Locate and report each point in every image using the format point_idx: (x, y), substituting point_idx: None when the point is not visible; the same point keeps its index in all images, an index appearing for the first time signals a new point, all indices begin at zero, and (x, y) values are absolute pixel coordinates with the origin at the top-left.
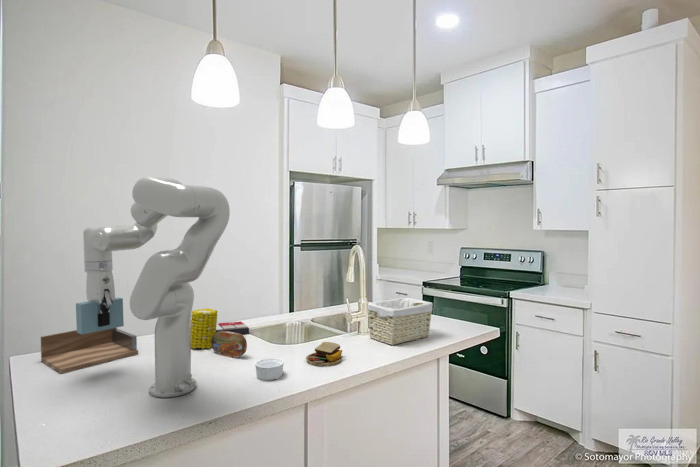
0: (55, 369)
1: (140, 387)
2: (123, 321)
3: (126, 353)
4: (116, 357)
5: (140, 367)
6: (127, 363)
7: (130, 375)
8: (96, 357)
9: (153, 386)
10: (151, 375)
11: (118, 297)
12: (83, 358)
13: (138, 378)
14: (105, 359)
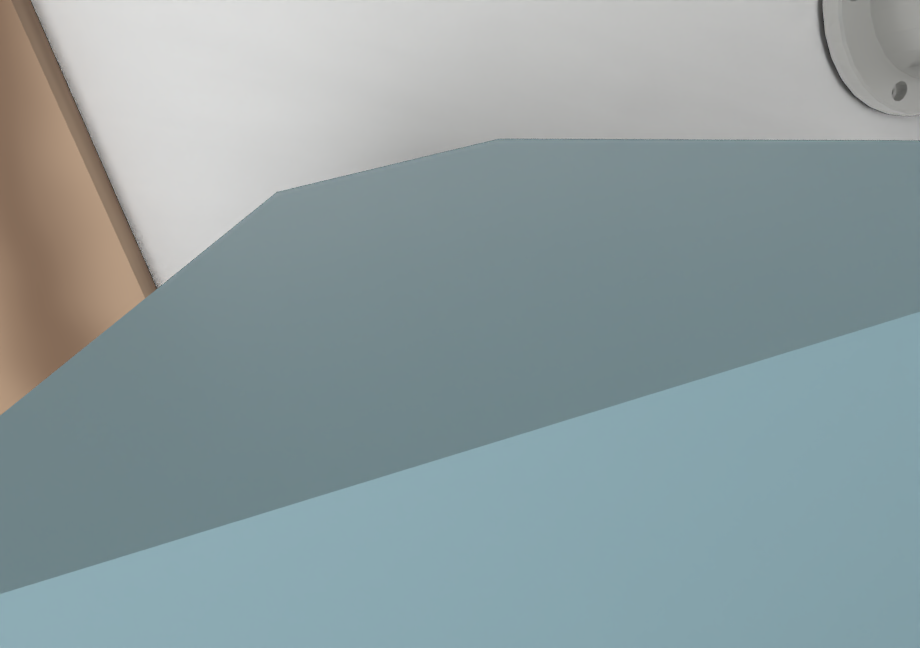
0: None
1: (776, 132)
2: (526, 139)
3: (29, 39)
4: (85, 143)
5: (427, 23)
6: (257, 85)
7: (550, 133)
8: (50, 301)
9: (891, 80)
10: (645, 9)
11: (371, 521)
12: (27, 391)
13: (638, 102)
14: (124, 238)
